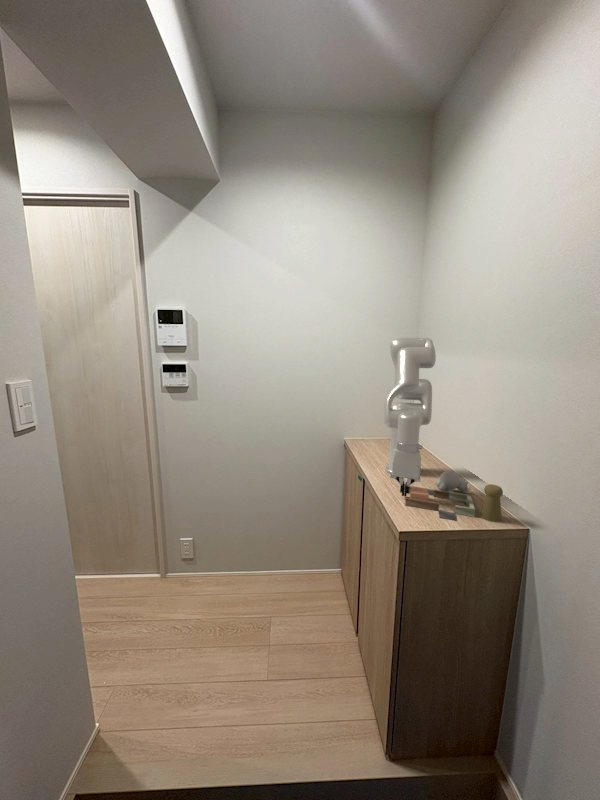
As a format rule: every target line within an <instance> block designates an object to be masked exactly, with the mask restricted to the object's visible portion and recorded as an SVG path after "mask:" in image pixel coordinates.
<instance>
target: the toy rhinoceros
mask: <svg viewBox="0 0 600 800" xmlns="http://www.w3.org/2000/svg"><path fill="white" fill-rule="evenodd" d="M468 484H469V481H466V478H463V479H461V477H460V475H459V474H458V472H456V471H454V470H449V469H448V470H445V471H443V472H442V473H441V474H440V477H439V480H437V481H436V482H435V485H436V487H437V488H438V490H441V491H448V492H454V490H458V491H460V493H462V494H468V492H469V491H470V490H471V488H472V486H470V487H469V486H468Z"/></svg>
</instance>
